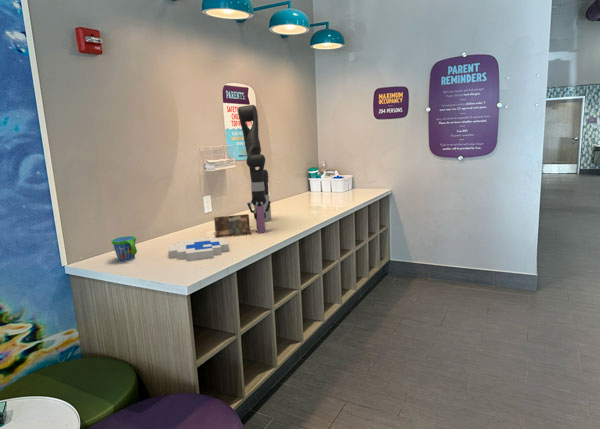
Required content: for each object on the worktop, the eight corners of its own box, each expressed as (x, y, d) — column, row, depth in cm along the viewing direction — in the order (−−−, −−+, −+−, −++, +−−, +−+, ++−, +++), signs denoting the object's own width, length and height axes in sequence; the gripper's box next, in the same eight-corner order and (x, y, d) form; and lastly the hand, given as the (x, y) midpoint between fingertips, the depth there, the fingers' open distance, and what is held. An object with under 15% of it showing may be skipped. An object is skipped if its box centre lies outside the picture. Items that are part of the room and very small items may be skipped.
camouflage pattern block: (249, 229, 249) (248, 214, 248) (251, 234, 238) (250, 217, 236) (215, 233, 246) (214, 217, 244) (215, 237, 234) (214, 221, 232)
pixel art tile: (224, 235, 223) (230, 248, 196) (225, 242, 224) (230, 256, 197) (169, 241, 216) (168, 255, 189) (170, 248, 217) (168, 264, 190)
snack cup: (108, 259, 202) (105, 238, 200) (129, 254, 209) (127, 234, 207) (123, 264, 191) (120, 243, 189) (144, 259, 199) (142, 238, 197)
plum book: (263, 229, 249) (261, 204, 246) (265, 232, 240) (263, 206, 237) (256, 229, 248) (254, 204, 246) (258, 233, 239) (256, 207, 236)
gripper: (269, 188, 244) (271, 216, 248) (245, 189, 242) (247, 219, 245) (271, 189, 237) (273, 219, 240) (246, 191, 234) (248, 221, 238)
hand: (260, 219), depth 243 cm, fingers closed on plum book, 4 cm apart
